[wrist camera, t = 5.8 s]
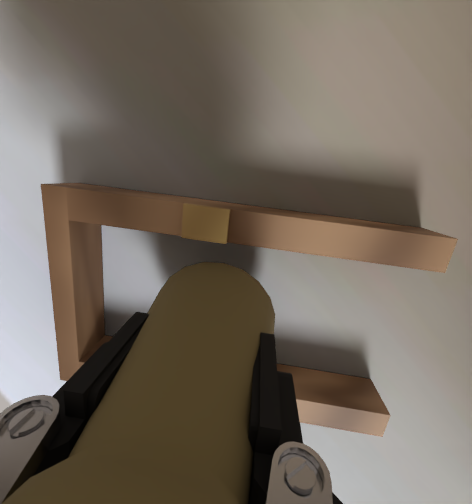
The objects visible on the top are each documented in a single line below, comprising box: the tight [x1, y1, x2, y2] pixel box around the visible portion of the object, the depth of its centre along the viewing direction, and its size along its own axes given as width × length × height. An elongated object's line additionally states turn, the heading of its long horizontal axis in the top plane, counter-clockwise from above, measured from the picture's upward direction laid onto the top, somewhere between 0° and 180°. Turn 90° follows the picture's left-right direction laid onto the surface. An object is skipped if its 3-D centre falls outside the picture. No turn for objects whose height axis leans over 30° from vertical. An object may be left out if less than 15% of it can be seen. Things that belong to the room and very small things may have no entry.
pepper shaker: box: [2, 262, 275, 504], centre depth 7 cm, size 6×6×11 cm
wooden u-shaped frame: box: [41, 183, 458, 437], centre depth 14 cm, size 18×11×3 cm, turn 83°
